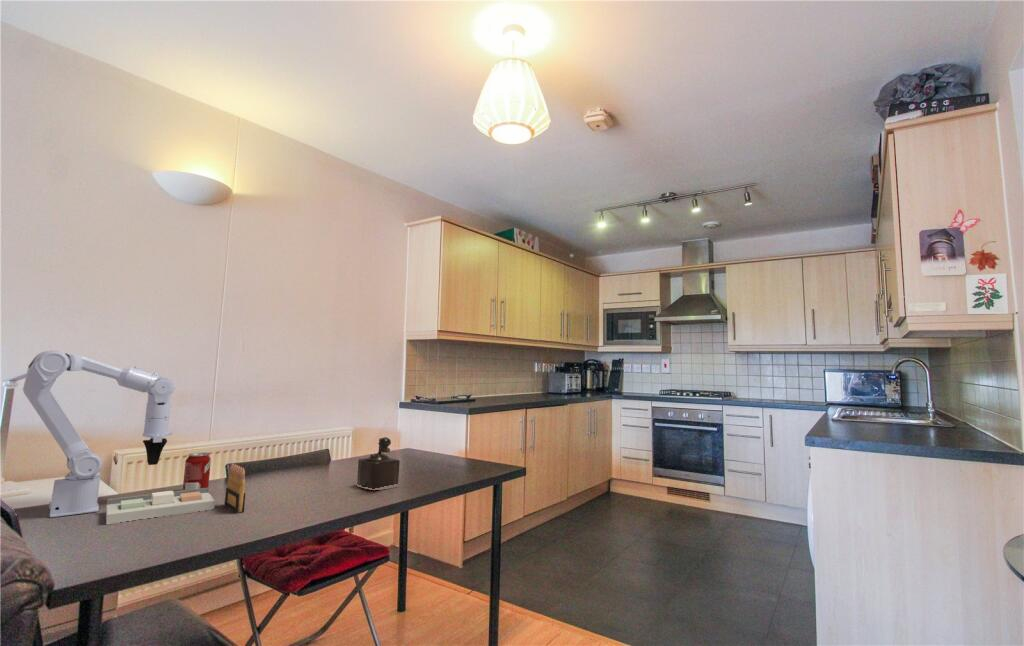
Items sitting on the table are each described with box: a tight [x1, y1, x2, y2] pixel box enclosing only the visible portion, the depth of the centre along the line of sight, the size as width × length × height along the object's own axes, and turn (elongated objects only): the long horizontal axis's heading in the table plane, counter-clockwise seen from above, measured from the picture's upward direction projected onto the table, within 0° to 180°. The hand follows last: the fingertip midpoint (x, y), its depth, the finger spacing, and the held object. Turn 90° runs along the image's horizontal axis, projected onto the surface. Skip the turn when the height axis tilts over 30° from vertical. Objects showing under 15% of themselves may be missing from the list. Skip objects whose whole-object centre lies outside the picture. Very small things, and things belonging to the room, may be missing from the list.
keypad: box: [105, 487, 216, 525], centre depth 129 cm, size 23×12×4 cm, turn 131°
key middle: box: [151, 490, 174, 506], centre depth 130 cm, size 5×5×3 cm
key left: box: [120, 498, 144, 510], centre depth 125 cm, size 5×5×3 cm
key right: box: [180, 492, 202, 502], centre depth 134 cm, size 5×5×3 cm
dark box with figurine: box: [356, 436, 401, 489], centre depth 162 cm, size 16×11×18 cm
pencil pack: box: [223, 462, 246, 514], centre depth 134 cm, size 11×2×12 cm, turn 47°
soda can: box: [182, 452, 212, 491], centre depth 149 cm, size 7×7×12 cm
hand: (152, 464), depth 140 cm, fingers closed
